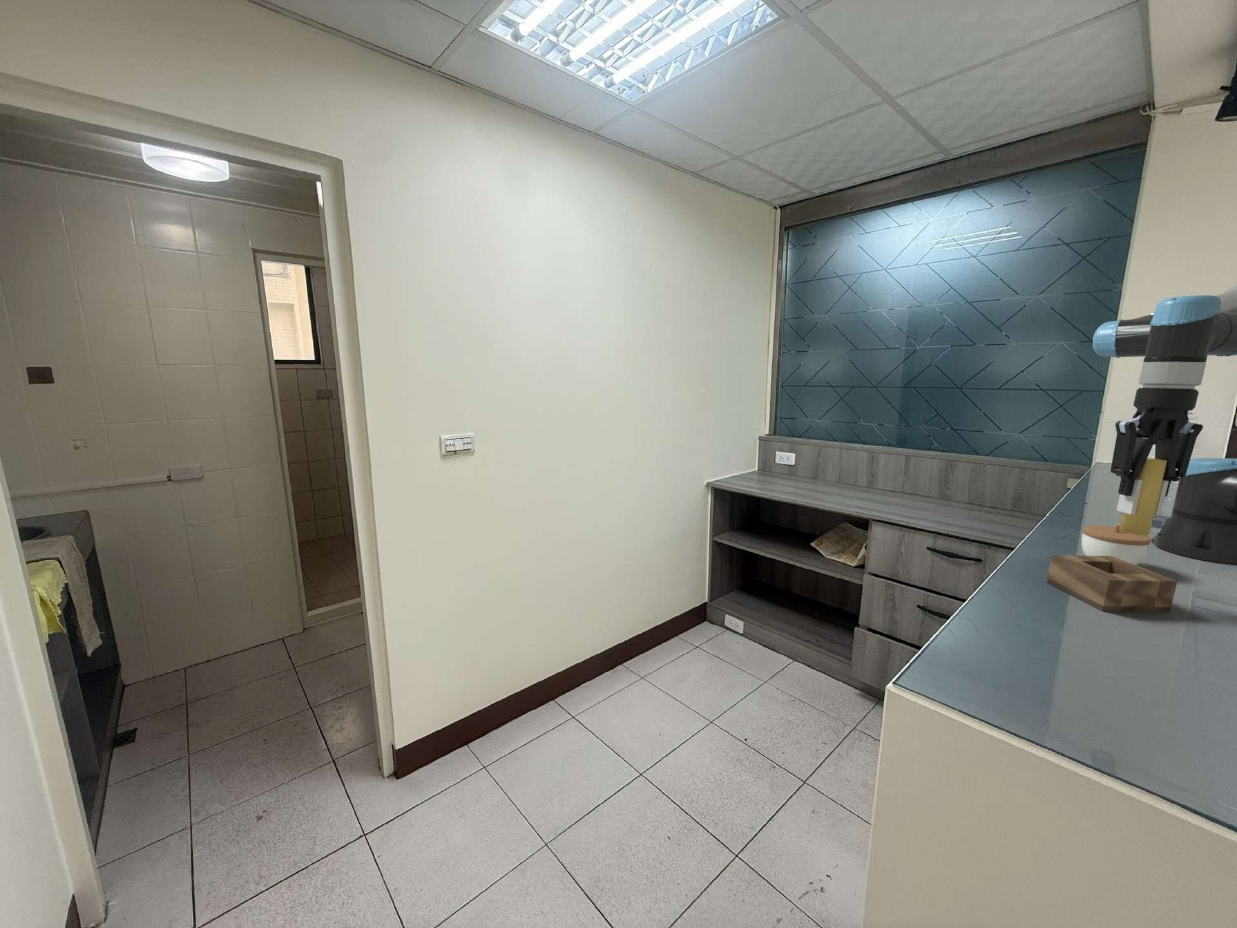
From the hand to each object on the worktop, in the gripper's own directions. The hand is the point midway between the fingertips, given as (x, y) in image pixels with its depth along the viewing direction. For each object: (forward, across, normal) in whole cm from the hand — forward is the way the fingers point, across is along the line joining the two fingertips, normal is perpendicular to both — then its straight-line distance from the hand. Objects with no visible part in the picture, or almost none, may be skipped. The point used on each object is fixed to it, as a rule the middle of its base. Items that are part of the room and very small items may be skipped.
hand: (1138, 512), depth 92 cm
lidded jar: (+17, -13, -15) cm, 26 cm away
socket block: (+17, +3, +1) cm, 17 cm away
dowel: (+4, 0, 0) cm, 4 cm away
